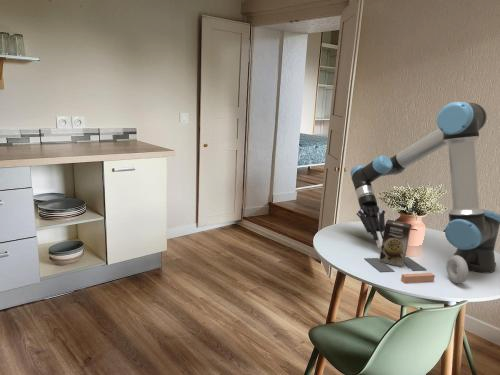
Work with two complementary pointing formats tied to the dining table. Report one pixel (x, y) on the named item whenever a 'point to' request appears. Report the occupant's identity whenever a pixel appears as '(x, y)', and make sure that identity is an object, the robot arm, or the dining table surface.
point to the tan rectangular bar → (417, 277)
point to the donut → (457, 269)
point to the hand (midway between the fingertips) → (381, 247)
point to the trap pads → (385, 268)
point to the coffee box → (395, 242)
